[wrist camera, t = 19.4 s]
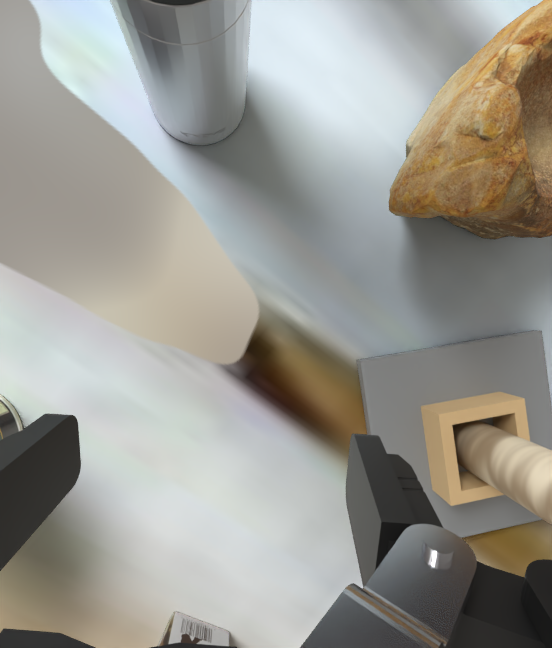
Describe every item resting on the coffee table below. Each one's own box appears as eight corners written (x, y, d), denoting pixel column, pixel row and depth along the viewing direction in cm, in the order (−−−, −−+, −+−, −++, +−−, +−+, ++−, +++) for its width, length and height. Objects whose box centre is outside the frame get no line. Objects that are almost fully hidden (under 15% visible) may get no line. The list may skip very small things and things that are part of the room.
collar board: (356, 359, 40) (372, 365, 36) (532, 330, 43) (569, 331, 38) (383, 547, 41) (403, 576, 36) (556, 508, 43) (595, 532, 38)
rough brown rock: (453, 313, 42) (589, 316, 28) (341, 211, 39) (426, 155, 25) (570, 153, 44) (752, 78, 30) (471, 45, 42) (620, -98, 27)
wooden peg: (440, 421, 40) (549, 476, 26) (484, 412, 41) (615, 462, 27) (446, 468, 40) (558, 547, 26) (491, 459, 41) (624, 532, 27)
